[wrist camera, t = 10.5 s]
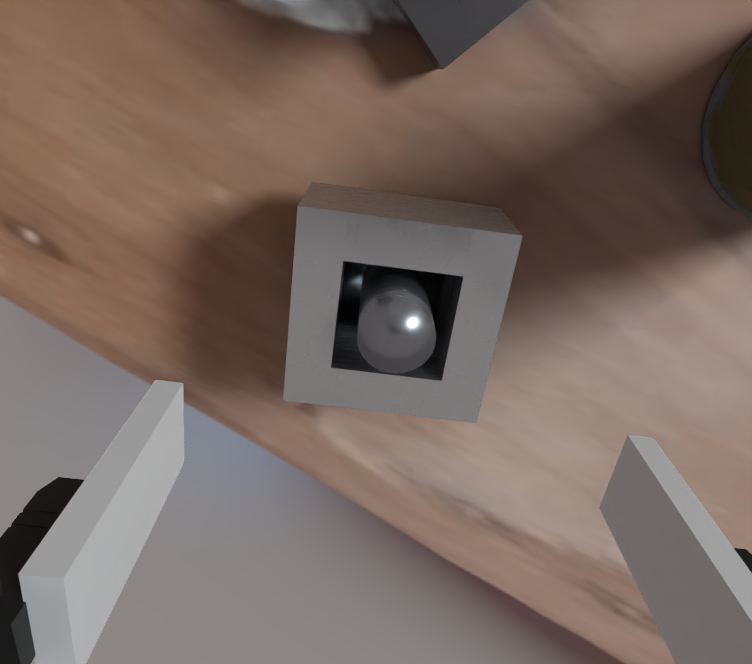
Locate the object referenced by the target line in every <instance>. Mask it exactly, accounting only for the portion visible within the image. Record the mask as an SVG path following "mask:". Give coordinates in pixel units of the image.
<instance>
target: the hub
mask: <svg viewBox="0 0 752 664" xmlns="http://www.w3.org/2000/svg"><path fill="white" fill-rule="evenodd" d="M404 195H405V194H404ZM443 277H444V274H441V273H433V272H425V271H418V270H410V269H402V268H395V267H387V266H379V265H371V264H364V263H356V262H348V261H345V269H344V278H343V286H342V295H341V304H340V313H339V321H338V322H344V323H352V324H358V332H357V344H358V348H359V350H360V353H361V355H362V356H363V358H364V359H365V360H366V361H367V362H368V363H369V364H370V365H371V366H373V367H374V368H376V369H378V370H380V371H383V372H387V373H405V372H409V371H412V370H414V369H416V368H418V367H420V366H421V365H422V364H424V363H425V362H426V361H427V360H428V359H429V357H430V356H431V354H432V353H433V350H434V348H435V344H436V331H435V326H434V324H435V319H436V313H437V308H438V303H439V298H440V293H441V288H442V282H443Z"/></svg>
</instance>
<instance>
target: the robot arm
mask: <svg viewBox="0 0 752 664" xmlns="http://www.w3.org/2000/svg"><path fill="white" fill-rule="evenodd" d="M183 464H184V399H183V383H179V382H170V381H162V380H155V381H154V382H153V384H152V385H151V387H150V388H149V390H148V391H147V393H146V394H145V395H144V397H143V398H142V400H141V401H140V402H139V404H138V405H137V407H136V408H135V410H134V411H133V412H132V414H131V415H130V417H129V418H128V419H127V421H126V422H125V424H124V425H123V426H122V428H121V429H120V431H119V432H118V434H117V435H116V436H115V438H114V439H113V441H112V442H111V443H110V445H109V446H108V448H107V449H106V450H105V452H104V453H103V455H102V456H101V458H100V459H99V460H98V462H97V463H96V465H95V466H94V468H93V469H92V470H91V472H90V473H89V475H88V476H87V477H86V479H85V480H80V479H70V478H62V477H58V478H57V479H56V480H54V481H52V482H51V483H49V484H48V485H46V486H45V487H43V488H42V489H40V490H39V491H37V493H36V494H35V495H34V497H33V498H32V499H31V500H30V501H29V503H28V504H27V505H26V506H25V508H24V509H23V512H22V513H20V514H19V515H18V516H17V518H16V519H15V520H14V522H13V523H12V526H11V527H9V528H8V529H7V530H6V531H5V533H4V534H3V535H2V536H1V538H0V664H30V663H31V662H32V660H33V659H34V661H35V664H86V663H87V661H88V658H89V656H90V654H91V652H92V650H93V648H94V646H95V644H96V642H97V640H98V638H99V636H100V634H101V632H102V630H103V628H104V626H105V624H106V622H107V620H108V618H109V616H110V613H111V611H112V609H113V607H114V605H115V603H116V601H117V599H118V597H119V595H120V593H121V591H122V589H123V587H124V585H125V583H126V581H127V579H128V576H129V575H130V573H131V571H132V568H133V566H134V564H135V562H136V560H137V558H138V556H139V554H140V552H141V550H142V548H143V546H144V544H145V542H146V540H147V537H148V536H149V534H150V532H151V530H152V528H153V525H154V523H155V521H156V519H157V517H158V515H159V513H160V511H161V509H162V507H163V505H164V503H165V501H166V499H167V497H168V495H169V493H170V491H171V489H172V487H173V484H174V482H175V480H176V478H177V476H178V474H179V472H180V470H181V468H182V466H183ZM599 508H600V510H601V512H602V514H603V516H604V518H605V520H606V522H607V524H608V526H609V528H610V530H611V532H612V535H613V537H614V539H615V541H616V543H617V545H618V547H619V549H620V551H621V553H622V555H623V557H624V559H625V561H626V563H627V565H628V567H629V569H630V571H631V573H632V575H633V577H634V579H635V581H636V583H637V585H638V587H639V589H640V591H641V594H642V596H643V598H644V600H645V602H646V604H647V606H648V608H649V610H650V612H651V614H652V616H653V618H654V620H655V622H656V624H657V626H658V628H659V630H660V632H661V634H662V636H663V638H664V640H665V642H666V644H667V646H668V648H669V650H670V652H671V655H672V657H673V659H674V661H675V663H676V664H752V554H750V553H749V552H748V551H747V550H746V549H737V548H733V547H732V545H731V544H730V542H729V541H728V540H727V538H726V537H725V536H724V534H723V533H722V531H721V530H720V529H719V527H718V526H717V525H716V523H715V522H714V520H713V519H712V518H711V516H710V515H709V514H708V512H707V511H706V509H705V508H704V507H703V505H702V504H701V503H700V501H699V500H698V498H697V497H696V496H695V494H694V493H693V492H692V490H691V489H690V487H689V486H688V485H687V483H686V482H685V481H684V479H683V478H682V476H681V475H680V474H679V472H678V471H677V470H676V468H675V467H674V465H673V464H672V463H671V461H670V460H669V459H668V457H667V456H666V454H665V453H664V452H663V450H662V449H661V448H660V446H659V445H658V443H657V442H656V441H655V439H654V438H651V437H642V436H634V435H628V436H627V438H626V441H625V443H624V446H623V448H622V451H621V454H620V456H619V459H618V461H617V464H616V466H615V469H614V472H613V474H612V477H611V479H610V482H609V484H608V487H607V490H606V492H605V495H604V497H603V500H602V502H601V505H600V507H599Z"/></svg>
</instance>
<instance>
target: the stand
mask: <svg viewBox="0 0 752 664" xmlns="http://www.w3.org/2000/svg"><path fill="white" fill-rule="evenodd" d="M393 1H394V3H395V4H396V6H397V7H398V9H399V10H400V12H401V13H402V15H403V16H404V18H405V19H406V21H407V23H408V24H409V26H410V27H411V29H412V30H413V32H414V33H415V35H416V36H417V38H418V39H419V41H420V42H421V44H422V45H423V47H424V49H425V50H426V52H427V53H428V55H429V56H430V58H431V59H432V61H433V62H434V64H435V65H436V67H437V68H438V69H444V68H445V67H446V66H448V65H449V64H450V63H451V62H453V61H454V60H455V59H456V58H458V57H459V56H460V55H461V54H462V53H464V52H465V51H466V50H467V49H469V48H470V47H471V46H472V45H474V44H475V43H476V42H477V41H479V40H480V39H481V38H482V37H483V36H485V35H486V34H487V33H488V32H490V31H491V30H492V29H493V28H495V27H496V26H497V25H498V24H500V23H501V22H502V21H503V20H504V19H506V18H507V17H508V16H509V15H511V14H512V13H513V12H514V11H516V10H517V9H518V8H519V7H520V6H522V5H523V4H524V3H525V2H527V1H528V0H393Z"/></svg>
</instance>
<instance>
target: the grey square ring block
mask: <svg viewBox="0 0 752 664" xmlns="http://www.w3.org/2000/svg"><path fill="white" fill-rule="evenodd" d="M522 237H523V235H522V234H521V233H520V232H519V231H518V229H517V228H516V227H515V226H514V225H513V223H512V222H511V221H510V220H509V219H508V217H507V216H506V215H505V214H504V212H503V211H502V210H501V209H500V208H499V207H493V206H486V205H478V204H471V203H463V202H456V201H449V200H441V199H434V198H427V197H419V196H412V195H404V194H397V193H390V192H382V191H375V190H368V189H360V188H353V187H345V186H338V185H331V184H323V183H316V182H311V184H310V185H309V187H308V189H307V191H306V192H305V194H304V196H303V197H302V199H301V201H300V202H299V204H298V207H297V220H296V234H295V247H294V261H293V274H292V288H291V301H290V314H289V328H288V341H287V355H286V368H285V382H284V395H283V401H291V402H300V403H308V404H317V405H326V406H334V407H343V408H351V409H360V410H368V411H377V412H386V413H394V414H403V415H411V416H420V417H429V418H437V419H446V420H454V421H463V422H472V423H477V419H478V415H479V411H480V407H481V403H482V398H483V394H484V390H485V386H486V382H487V378H488V374H489V370H490V366H491V362H492V358H493V354H494V350H495V346H496V342H497V338H498V334H499V330H500V326H501V322H502V318H503V314H504V310H505V306H506V302H507V297H508V293H509V289H510V285H511V281H512V277H513V273H514V269H515V265H516V261H517V257H518V253H519V249H520V245H521V241H522ZM345 261H348V262H356V263H364V264H371V265H379V266H387V267H395V268H402V269H410V270H418V271H425V272H433V273H441V274H444V277H443V282H442V288H441V293H440V298H439V303H438V308H437V313H436V319H435V324H434V326H435V331H436V344H435V348H434V350H433V353H432V354H431V356H430V357H429V359H428V360H427V361H426V362H425V363H424V364H422V365H421V366H420V367H418V368H416V369H414V370H412V371H409V372H405V373H387V372H383V371H380V370H378V369H376V368H374V367H373V366H371V365H370V364H369V363H368V362H367V361H366V360H365V359H364V358H363V356H362V355H361V353H360V350H359V348H358V344H357V332H358V324H352V323H344V322H338V321H339V313H340V304H341V295H342V286H343V278H344V269H345Z"/></svg>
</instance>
